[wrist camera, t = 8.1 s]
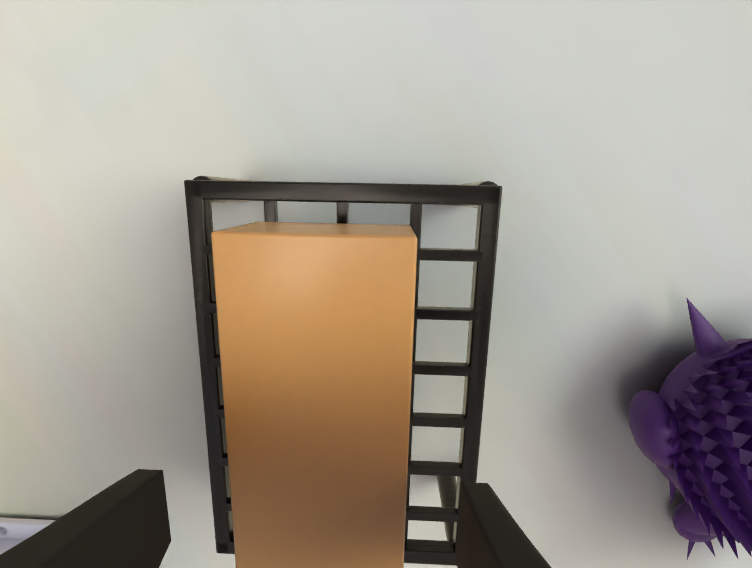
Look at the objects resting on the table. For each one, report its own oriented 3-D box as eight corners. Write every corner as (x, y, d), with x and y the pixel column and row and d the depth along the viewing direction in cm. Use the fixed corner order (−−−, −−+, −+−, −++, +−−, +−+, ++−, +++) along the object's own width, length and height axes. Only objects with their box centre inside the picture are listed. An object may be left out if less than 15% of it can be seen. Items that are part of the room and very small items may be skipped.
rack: (254, 471, 21) (212, 556, 16) (238, 179, 17) (178, 174, 12) (453, 480, 20) (473, 570, 15) (475, 184, 17) (508, 180, 12)
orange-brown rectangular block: (397, 536, 15) (399, 671, 11) (283, 531, 15) (241, 661, 11) (408, 221, 13) (417, 236, 8) (271, 218, 13) (209, 231, 8)
